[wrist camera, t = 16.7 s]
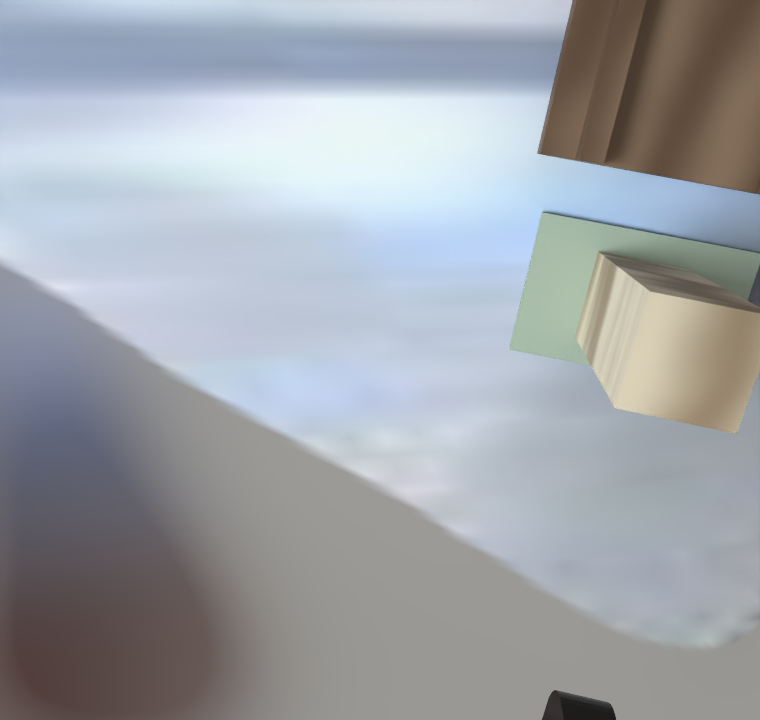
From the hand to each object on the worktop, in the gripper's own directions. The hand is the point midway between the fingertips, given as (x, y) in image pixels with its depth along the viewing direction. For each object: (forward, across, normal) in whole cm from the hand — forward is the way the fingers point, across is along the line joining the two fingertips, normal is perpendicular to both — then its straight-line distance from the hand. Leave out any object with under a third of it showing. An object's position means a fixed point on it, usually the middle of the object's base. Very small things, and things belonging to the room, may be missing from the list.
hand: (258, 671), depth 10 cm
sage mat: (+33, -12, -1) cm, 35 cm away
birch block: (+33, -12, -1) cm, 35 cm away
